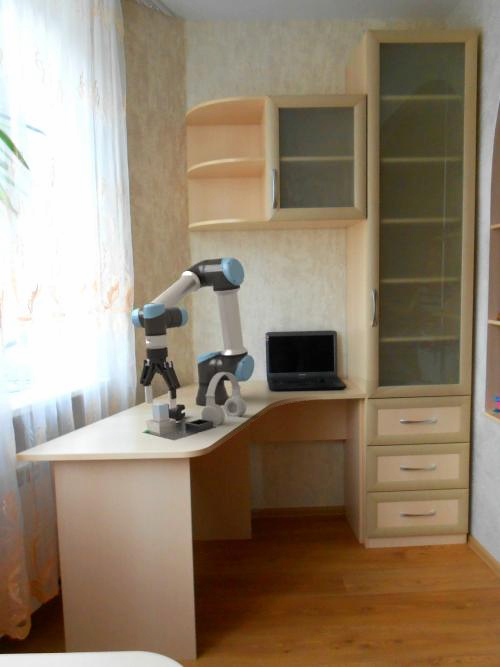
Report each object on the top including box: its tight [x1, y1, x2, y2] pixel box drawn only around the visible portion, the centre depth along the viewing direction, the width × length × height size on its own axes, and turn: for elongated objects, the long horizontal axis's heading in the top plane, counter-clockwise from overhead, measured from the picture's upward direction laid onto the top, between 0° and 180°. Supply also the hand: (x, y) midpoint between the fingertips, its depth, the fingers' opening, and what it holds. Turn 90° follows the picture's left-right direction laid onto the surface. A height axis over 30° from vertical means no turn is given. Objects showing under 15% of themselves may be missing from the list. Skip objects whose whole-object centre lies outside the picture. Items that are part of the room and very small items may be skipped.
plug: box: [151, 402, 169, 423], centre depth 185 cm, size 4×4×10 cm
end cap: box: [168, 403, 186, 422], centre depth 204 cm, size 10×7×7 cm
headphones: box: [201, 372, 247, 427], centre depth 199 cm, size 20×8×19 cm, turn 149°
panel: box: [141, 418, 217, 441], centre depth 187 cm, size 20×18×5 cm
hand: (160, 405), depth 185 cm, fingers open, 13 cm apart
